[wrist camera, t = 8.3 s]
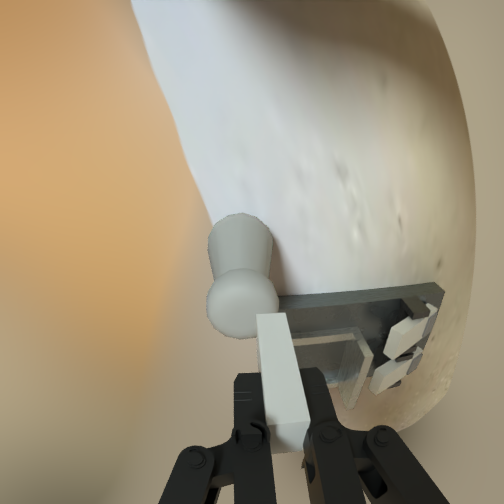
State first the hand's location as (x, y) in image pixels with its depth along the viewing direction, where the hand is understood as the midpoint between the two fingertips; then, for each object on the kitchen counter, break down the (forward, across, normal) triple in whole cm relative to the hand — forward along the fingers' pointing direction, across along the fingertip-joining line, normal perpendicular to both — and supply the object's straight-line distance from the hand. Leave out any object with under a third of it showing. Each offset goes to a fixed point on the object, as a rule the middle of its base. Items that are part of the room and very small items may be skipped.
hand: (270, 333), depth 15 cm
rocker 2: (+9, +18, -16) cm, 25 cm away
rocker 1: (+9, +18, -10) cm, 22 cm away
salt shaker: (+14, -2, 0) cm, 14 cm away
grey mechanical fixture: (+14, +12, -13) cm, 23 cm away
